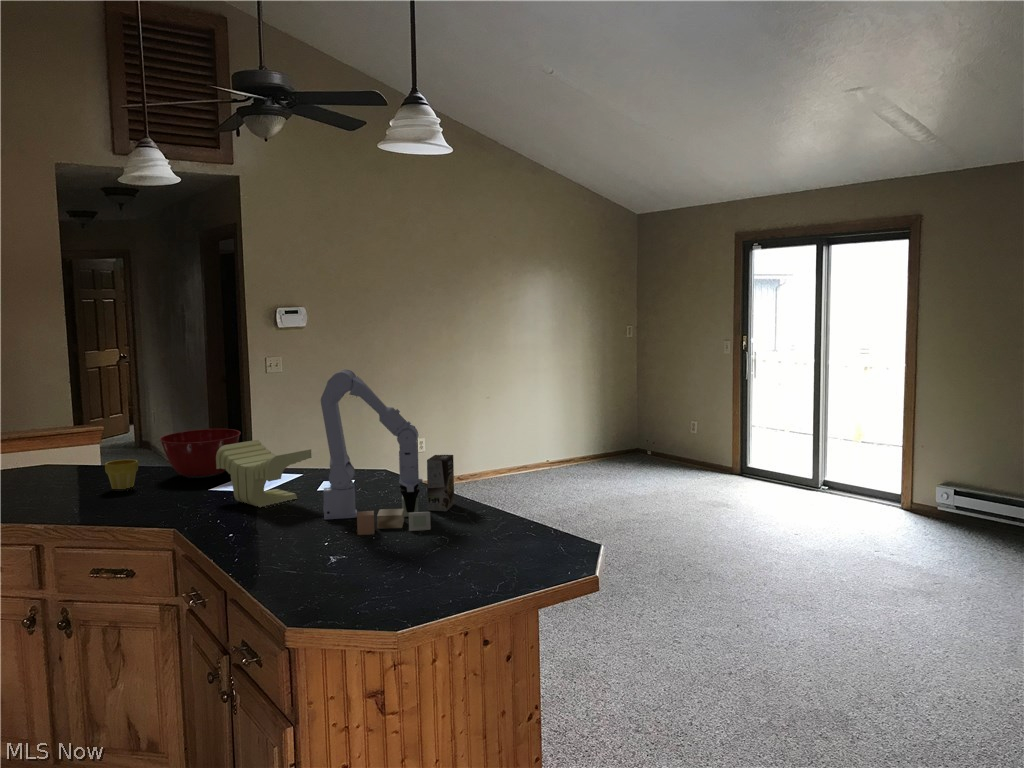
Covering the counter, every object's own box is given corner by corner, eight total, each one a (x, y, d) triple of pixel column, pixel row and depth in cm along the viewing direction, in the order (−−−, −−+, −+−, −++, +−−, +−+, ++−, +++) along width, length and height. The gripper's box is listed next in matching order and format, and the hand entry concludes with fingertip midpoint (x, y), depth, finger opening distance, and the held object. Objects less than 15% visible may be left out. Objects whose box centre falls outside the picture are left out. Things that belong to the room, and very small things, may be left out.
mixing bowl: (194, 487, 281) (192, 444, 279) (145, 478, 296) (143, 437, 294) (258, 471, 305) (256, 432, 303) (210, 464, 320) (208, 426, 318)
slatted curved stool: (218, 499, 262) (215, 446, 260) (260, 490, 275) (258, 439, 273) (270, 514, 243) (267, 457, 241) (313, 503, 255) (311, 449, 254)
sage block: (402, 516, 238) (402, 499, 238) (402, 512, 243) (401, 495, 242) (418, 515, 239) (417, 498, 239) (417, 511, 244) (416, 494, 243)
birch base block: (377, 529, 227) (376, 515, 226) (380, 522, 234) (379, 509, 233) (401, 528, 227) (401, 515, 227) (403, 521, 234) (403, 508, 233)
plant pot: (129, 484, 286) (128, 457, 285) (145, 488, 280) (143, 460, 279) (101, 490, 278) (99, 462, 277) (116, 494, 272) (114, 466, 270)
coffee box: (447, 511, 243) (446, 460, 242) (427, 510, 245) (425, 459, 243) (455, 504, 252) (454, 454, 251) (435, 503, 254) (434, 453, 252)
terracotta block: (357, 535, 221) (356, 516, 220) (358, 530, 225) (357, 511, 224) (374, 534, 221) (373, 515, 221) (374, 529, 226) (373, 510, 225)
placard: (409, 531, 224) (408, 513, 223) (409, 529, 225) (408, 512, 224) (430, 529, 224) (430, 512, 224) (430, 528, 226) (429, 511, 225)
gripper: (423, 470, 233) (424, 515, 234) (420, 460, 247) (422, 503, 249) (399, 471, 232) (400, 516, 233) (398, 461, 246) (399, 504, 247)
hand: (410, 509), depth 241 cm, fingers closed on sage block, 5 cm apart
